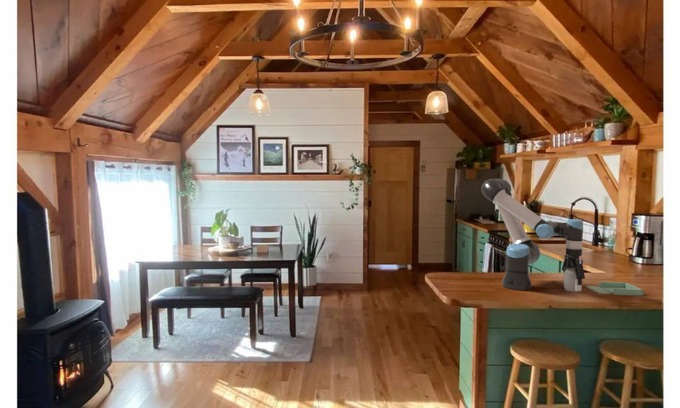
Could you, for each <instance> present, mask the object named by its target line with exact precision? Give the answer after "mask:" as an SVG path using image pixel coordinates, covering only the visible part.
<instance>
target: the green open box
mask: <svg viewBox="0 0 680 408" xmlns="http://www.w3.org/2000/svg"><path fill="white" fill-rule="evenodd" d="M598 287H600V288H602V289H604V290H606V291H608V292H610V294H612V295H614V296H644V289H642V288H640V287H637V286H634V285H633V284H630V283H628V282H626V281H625V282H621V281H620V282H617V281H598Z"/></svg>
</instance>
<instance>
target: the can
mask: <svg viewBox="0 0 680 408" xmlns="http://www.w3.org/2000/svg"><path fill="white" fill-rule="evenodd" d="M576 278H577V277H576V273H575V270H574V267H571V268H567V269H566V271H565V278H564V277H563V282H564V284H563V289H564V290H565V291H566V292H569V293H570V292H576V293H577V292H579V291H575V285H576Z"/></svg>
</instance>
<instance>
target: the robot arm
mask: <svg viewBox="0 0 680 408" xmlns="http://www.w3.org/2000/svg"><path fill="white" fill-rule="evenodd" d="M480 190H481V193H482V196H484V197H485V198H486V199H487V200H489V201H490V202H492V203H493V204H494V205H496V206H497V209H498V211H499V213H500V215H501V218H502V219H503V222H504V225H505V227H506V229H507V232H508V233H509V236H510V238H511V241H512V243H510V244H509V245H508V246H507V248H506V251H505V254H506V255H505V256H506V259H505V273H504V276H503V278H502V281H501V285H502V287H505V288H508V289H511V290H516V291H517V290H519V291H526V290H527V291H528V290H531V289H532V281H531V278H530V275H529V270H530V265H531V264H534V263H536V262H538V260H539V259H540V257H541V251H540V248H539V246H538V245H537V244H535V243H534V241H533V239H532V238H530V237H529V236H528V235H527V232H526V230H525V228H524V225H523V224H525V225H526V226H528V227H529V228H530V229H532V230H533V231H535V233H536V235H537V237H539V238H541V239H549V238H552V237H554V236H555V237H556V236H557V237H558V236H560V237H566V240H565V254H564V259H563V263H562V266H561V271H563V279H564V278H565V271H566V269H567V268H574V270H575V273H576V277H577V278H576V285H575V291H578V292H582V285H583V280H585V279H586V275H585V271H584V270H585V269H584V260H583V259H580V257H582V256H583V243H584V242H583V238H584V235H583V234H584V221H583V220H582V219H576V218H575V219H573V218H571V219H570V218H569V219H567V221H566V222H562V221H561V222H560V221H552V220H550V221H549V220H548V221H547V220H545V219H543V217H541V216H540V215H538V214H537V213H535V212H534V211H532V210H531V209H529V208H528V207H527V206H525V205H524V204H522V203H520V202H519V201H518V200H516V199H515V198H514V197H513V194H512V185H511V183H510V182H509V181H507V180H506V179H502V178H490V179H487V180H484V182H483V183H482V184H481V188H480ZM522 223H523V224H522ZM563 285H564V281H563Z"/></svg>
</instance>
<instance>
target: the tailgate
mask: <svg viewBox="0 0 680 408" xmlns="http://www.w3.org/2000/svg"><path fill="white" fill-rule="evenodd" d="M585 287H586V288H587V289H589V290H591V291H593V292H595V293H596V294H601V295H603V294H604V295H606V294H607V295H611V293H610V292H608V291H606V290H604V289H602V288H600V287H599V286H594V285H593V286H592V285H586V286H585Z"/></svg>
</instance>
